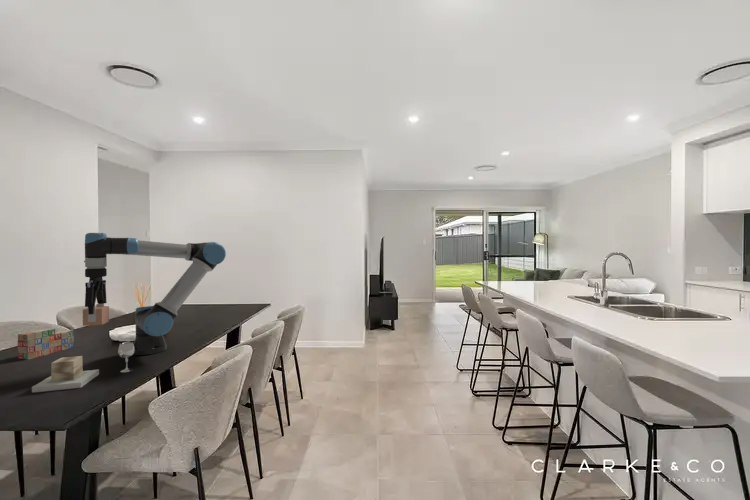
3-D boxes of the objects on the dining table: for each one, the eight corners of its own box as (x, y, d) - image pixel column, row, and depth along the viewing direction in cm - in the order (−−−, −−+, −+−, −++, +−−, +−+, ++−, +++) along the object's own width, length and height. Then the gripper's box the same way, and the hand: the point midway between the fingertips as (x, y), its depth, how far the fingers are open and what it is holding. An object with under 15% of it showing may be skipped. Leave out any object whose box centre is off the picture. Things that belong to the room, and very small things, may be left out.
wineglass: (138, 369, 155) (137, 341, 155) (124, 373, 149) (124, 345, 149) (128, 367, 156) (128, 340, 156) (115, 372, 151) (114, 343, 151)
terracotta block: (109, 321, 161) (108, 306, 161) (101, 324, 154) (101, 308, 154) (90, 322, 159) (90, 306, 159) (82, 325, 152) (82, 309, 152)
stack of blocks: (64, 347, 192) (64, 324, 192) (74, 347, 191) (73, 324, 190) (17, 359, 171) (17, 333, 171) (27, 359, 170) (27, 334, 170)
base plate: (99, 374, 149) (98, 369, 149) (81, 387, 134) (81, 381, 134) (55, 378, 144) (55, 372, 144) (31, 392, 130) (31, 386, 130)
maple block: (82, 373, 144) (82, 355, 144) (73, 379, 137) (73, 361, 137) (61, 375, 142) (61, 357, 142) (51, 381, 135) (51, 363, 135)
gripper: (96, 267, 165) (96, 316, 165) (73, 269, 146) (74, 325, 146) (115, 266, 167) (115, 315, 167) (95, 268, 148) (95, 323, 148)
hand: (96, 319), depth 157 cm, fingers closed on terracotta block, 7 cm apart
